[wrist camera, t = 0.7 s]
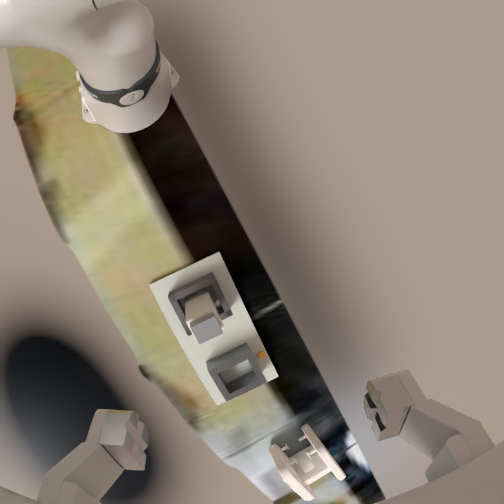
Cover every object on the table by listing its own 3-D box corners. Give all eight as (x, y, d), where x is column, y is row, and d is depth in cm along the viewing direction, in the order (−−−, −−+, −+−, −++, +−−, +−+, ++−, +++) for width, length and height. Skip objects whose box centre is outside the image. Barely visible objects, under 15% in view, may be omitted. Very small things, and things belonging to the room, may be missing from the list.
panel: (149, 284, 50) (146, 289, 45) (218, 251, 52) (222, 253, 47) (216, 403, 54) (219, 416, 49) (277, 374, 56) (285, 385, 51)
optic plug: (184, 297, 50) (186, 326, 35) (206, 287, 51) (216, 312, 35) (192, 313, 51) (197, 348, 35) (214, 303, 51) (227, 333, 36)
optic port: (205, 361, 52) (207, 371, 48) (246, 342, 53) (251, 350, 49) (223, 390, 53) (226, 401, 49) (261, 372, 54) (267, 381, 50)
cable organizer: (328, 452, 61) (350, 480, 49) (292, 474, 59) (308, 505, 48) (304, 418, 58) (326, 449, 47) (262, 443, 57) (278, 477, 45)
